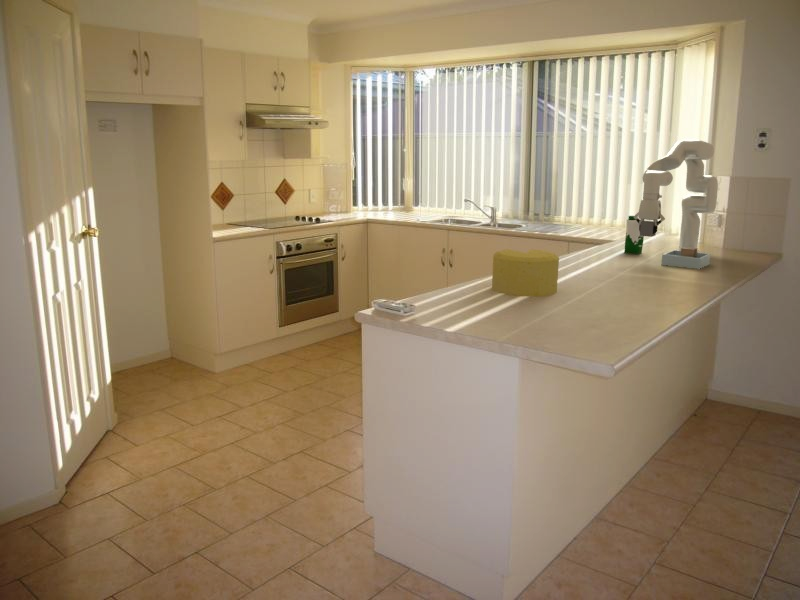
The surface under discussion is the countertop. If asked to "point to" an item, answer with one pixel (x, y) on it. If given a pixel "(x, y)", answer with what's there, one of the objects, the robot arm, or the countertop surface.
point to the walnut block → (689, 252)
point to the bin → (685, 260)
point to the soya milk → (633, 237)
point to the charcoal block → (647, 228)
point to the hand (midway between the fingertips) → (647, 232)
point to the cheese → (525, 273)
